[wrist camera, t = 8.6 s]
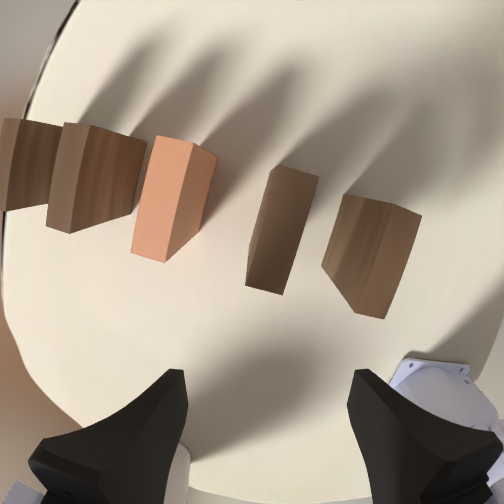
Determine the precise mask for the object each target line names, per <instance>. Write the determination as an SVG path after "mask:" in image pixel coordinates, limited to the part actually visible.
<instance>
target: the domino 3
mask: <svg viewBox="0 0 504 504" xmlns="http://www.w3.org/2000/svg"><path fill="white" fill-rule="evenodd" d="M217 160H218V157H216V156H215V155H213V154H211V153H210V152H208V151H206V150H205V149H203V148H201V147H200V146H198V145H196V144H195V143H192V142H188V141H183V140H178V139H173V138H168V137H163V136H158V135H156V139H155V142H154V146H153V150H152V154H151V157H150V161H149V165H148V169H147V173H146V177H145V182H144V186H143V190H142V195H141V199H140V204H139V209H138V214H137V219H136V224H135V229H134V235H133V241H132V247H131V253H133V254H136V255H140V256H143V257H146V258H149V259H153V260H156V261H159V262H163V263H165V262H166V261H167V260H168V259H170V258H171V257H172V256H173V255H174V254H175V253H176V252H177V251H178V250H179V249H180V248H182V247H183V246H184V245H185V244H186V243H187V242H188V241H189V240H190V239H191V238H193V237H194V236H195V235H196V234H197V233H198V232H199V228H200V224H201V220H202V216H203V212H204V208H205V204H206V200H207V196H208V192H209V189H210V185H211V181H212V178H213V174H214V170H215V167H216V163H217Z"/></svg>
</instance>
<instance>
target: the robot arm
mask: <svg viewBox="0 0 504 504" xmlns="http://www.w3.org/2000/svg"><path fill="white" fill-rule="evenodd" d="M411 363H412V364H411ZM410 364H411V365H410ZM470 369H471V367H470V366H469V365H468V364H457V363H447V362H438V361H430V360H422V359H414V358H405V359H403V360H402V362H401V363H400V365H399V367H398V369H397V371H396V373H395V374H394V376H393V378H392V380H391V381H390V383H389V385H388V384H387V383H386V382H384V381H383V380H382V379H381V378H379V377H378V376H377V375H376V374H374V373H373V372H372V371H371V370H369V369H360V370H355V372H354V377H353V381H352V385H351V390H350V394H349V398H348V402H347V408H348V413H349V418H350V423H351V426H352V429H353V431H354V434H355V437H356V439H357V442H358V445H359V448H360V450H361V453H362V456H363V458H364V461H365V465H366V468H367V472H368V477H369V482H370V487H371V493H372V499H373V504H504V419H503V420H499V419H498V413H497V410H496V408H495V406H494V405H493V404H492V403H491V402H490V400H489V399H488V398H487V397H486V396H485V395H484V394H483V393H482V391H480V389H479V388H478V387H477V386H476V385H475V384H474V383H473V381H472V380H471V379H470V378H469V377H468V376H467V375H468V373H469V371H470ZM187 410H188V399H187V392H186V385H185V378H184V371H183V370H178V369H169V370H167V371H166V372H165V373H164V374H163V375H162V376H161V377H160V378H159V379H158V380H157V381H155V382H154V383H153V384H152V385H151V386H150V387H149V388H148V389H146V390H145V391H144V392H143V393H142V394H141V395H139V396H138V397H137V398H136V399H134V400H133V401H132V402H130V403H129V404H128V405H126V406H125V407H124V408H122V409H121V410H119V411H118V412H116V413H114V414H112V415H111V416H109V417H107V418H105V419H103V420H101V421H99V422H97V423H95V424H93V425H90V426H88V427H86V428H83V429H80V430H78V431H74V432H71V433H68V434H64V435H60V436H55V437H50V438H45V439H43V440H42V441H41V442H40V444H39V445H38V447H37V448H36V449H35V451H34V452H33V454H32V455H31V457H30V458H29V460H28V463H29V466H30V469H31V470H32V472H33V473H34V474H35V476H36V477H37V478H38V480H39V481H40V482H41V483H42V484H43V486H44V487H45V488H46V489H47V490H48V491H47V493H46V494H45V496H44V495H43V494H42V493H41V492H39V491H38V490H36V489H34V488H32V487H31V486H29V485H27V484H25V483H23V482H22V481H20V480H16V482H15V483H14V485H13V486H12V488H11V489H10V491H9V492H8V494H7V496H6V497H5V499H4V500H3V502H2V504H164V499H165V493H166V487H167V482H168V476H169V471H170V468H171V464H172V461H173V458H174V455H175V452H176V449H177V446H178V443H179V440H180V437H181V434H182V431H183V428H184V425H185V421H186V416H187Z"/></svg>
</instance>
